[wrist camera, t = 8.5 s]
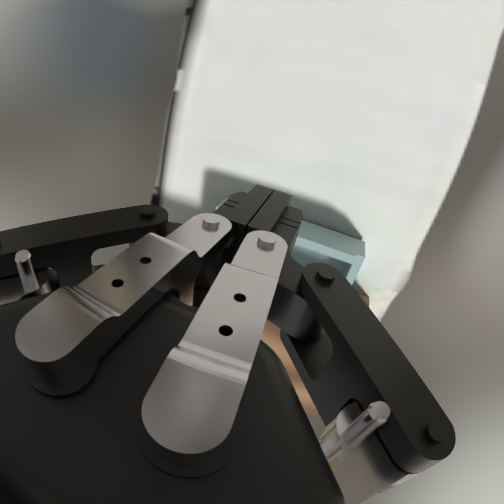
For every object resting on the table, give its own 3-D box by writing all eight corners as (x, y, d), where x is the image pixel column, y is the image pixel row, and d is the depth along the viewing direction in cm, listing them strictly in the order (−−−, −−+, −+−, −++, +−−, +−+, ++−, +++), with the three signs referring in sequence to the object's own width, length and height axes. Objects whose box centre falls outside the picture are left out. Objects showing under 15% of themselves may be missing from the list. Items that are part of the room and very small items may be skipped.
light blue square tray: (228, 195, 31) (213, 208, 28) (364, 241, 29) (364, 260, 26) (212, 288, 37) (199, 305, 35) (324, 328, 35) (319, 350, 32)
